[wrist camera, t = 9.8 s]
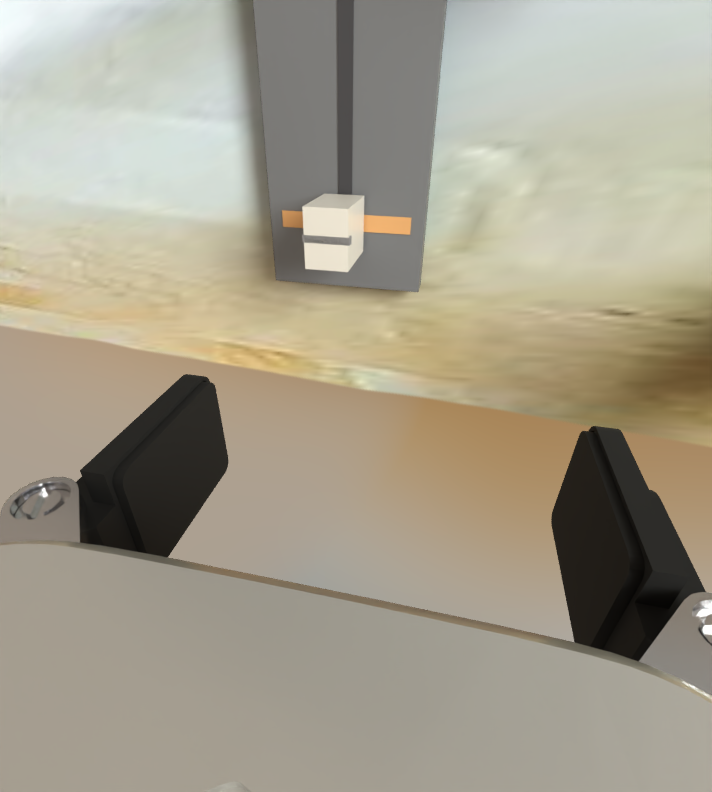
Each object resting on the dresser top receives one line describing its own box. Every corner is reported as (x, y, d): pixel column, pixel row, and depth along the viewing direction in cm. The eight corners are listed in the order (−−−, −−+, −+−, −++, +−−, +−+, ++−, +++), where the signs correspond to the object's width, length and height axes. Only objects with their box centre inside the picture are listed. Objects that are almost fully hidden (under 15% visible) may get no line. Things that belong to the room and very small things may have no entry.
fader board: (460, -142, 25) (459, -160, 23) (420, 284, 38) (418, 292, 36) (255, -127, 27) (240, -143, 25) (284, 273, 40) (275, 280, 38)
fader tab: (365, 195, 33) (349, 209, 28) (364, 251, 35) (349, 272, 30) (323, 193, 33) (300, 206, 29) (324, 248, 35) (303, 268, 31)
